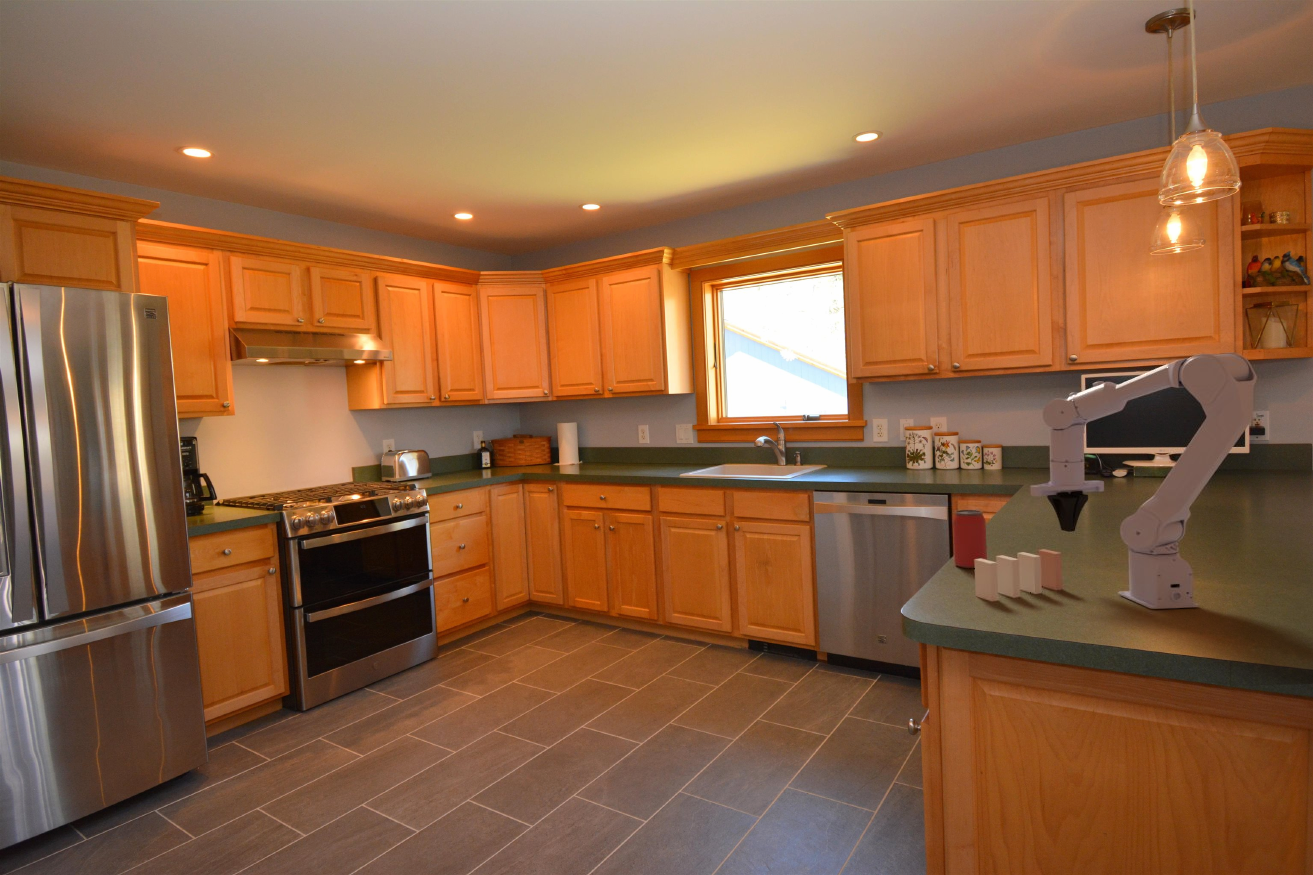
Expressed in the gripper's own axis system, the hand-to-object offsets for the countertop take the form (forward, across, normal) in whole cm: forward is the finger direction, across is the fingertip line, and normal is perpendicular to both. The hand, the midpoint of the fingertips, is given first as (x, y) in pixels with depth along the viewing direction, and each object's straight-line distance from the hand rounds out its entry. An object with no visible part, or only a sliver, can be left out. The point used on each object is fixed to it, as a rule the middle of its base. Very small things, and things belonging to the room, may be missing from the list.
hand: (1067, 530), depth 136 cm
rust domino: (+10, +5, +1) cm, 12 cm away
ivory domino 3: (+10, +10, +2) cm, 14 cm away
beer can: (+11, +8, -20) cm, 24 cm away
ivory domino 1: (+10, +20, +3) cm, 23 cm away
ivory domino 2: (+10, +15, +2) cm, 18 cm away
